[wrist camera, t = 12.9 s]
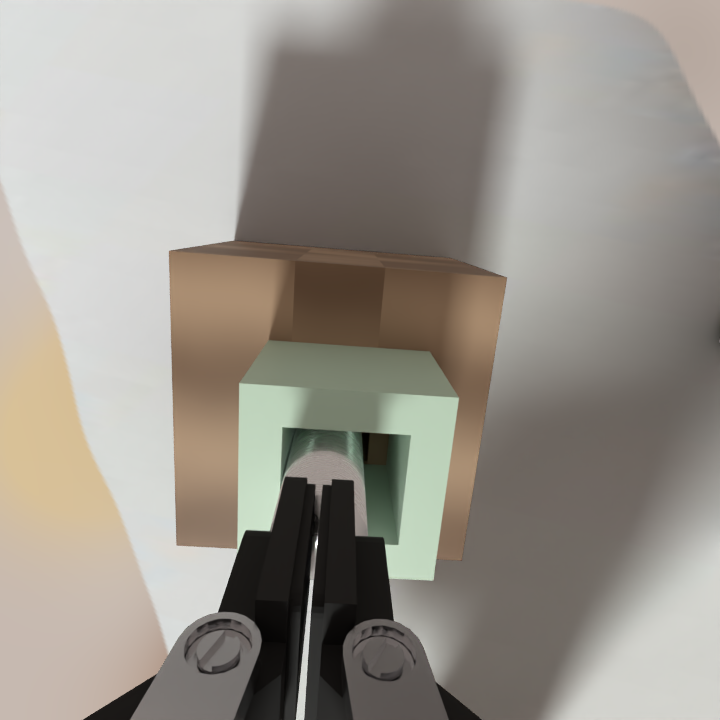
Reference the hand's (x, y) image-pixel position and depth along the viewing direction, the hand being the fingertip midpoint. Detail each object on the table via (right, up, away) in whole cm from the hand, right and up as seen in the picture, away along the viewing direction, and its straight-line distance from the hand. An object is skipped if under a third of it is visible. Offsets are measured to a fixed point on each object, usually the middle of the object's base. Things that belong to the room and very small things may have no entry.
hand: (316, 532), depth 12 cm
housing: (0, +4, +17) cm, 17 cm away
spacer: (0, +2, +7) cm, 7 cm away
